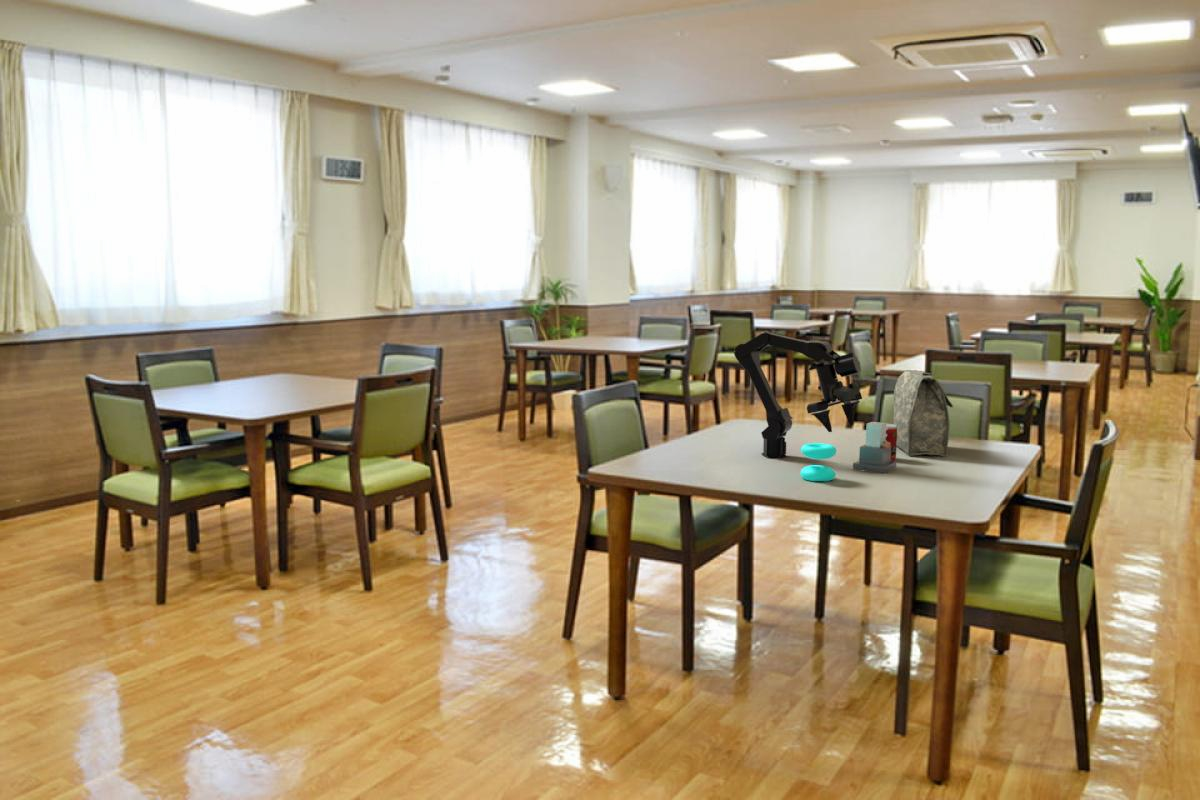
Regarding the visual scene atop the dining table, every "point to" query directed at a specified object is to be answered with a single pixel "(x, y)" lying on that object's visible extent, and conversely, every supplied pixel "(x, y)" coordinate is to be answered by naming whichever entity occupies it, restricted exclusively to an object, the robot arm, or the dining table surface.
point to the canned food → (892, 438)
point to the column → (876, 434)
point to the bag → (921, 414)
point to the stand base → (875, 459)
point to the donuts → (818, 470)
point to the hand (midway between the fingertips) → (841, 428)
